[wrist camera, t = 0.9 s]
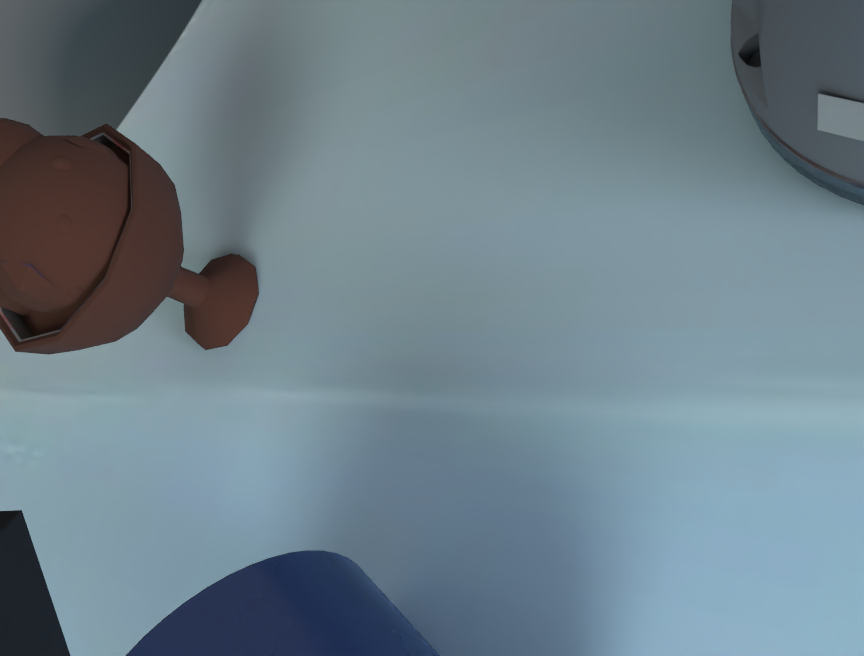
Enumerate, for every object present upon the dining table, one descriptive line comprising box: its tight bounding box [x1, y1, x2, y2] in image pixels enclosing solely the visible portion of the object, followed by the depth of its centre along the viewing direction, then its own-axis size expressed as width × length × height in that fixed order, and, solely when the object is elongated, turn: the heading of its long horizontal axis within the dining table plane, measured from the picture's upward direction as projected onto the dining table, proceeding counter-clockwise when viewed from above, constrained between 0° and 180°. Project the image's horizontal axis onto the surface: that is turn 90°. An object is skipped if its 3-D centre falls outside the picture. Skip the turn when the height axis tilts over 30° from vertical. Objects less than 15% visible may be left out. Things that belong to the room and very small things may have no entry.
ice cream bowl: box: [0, 118, 258, 354], centre depth 35 cm, size 11×11×15 cm
